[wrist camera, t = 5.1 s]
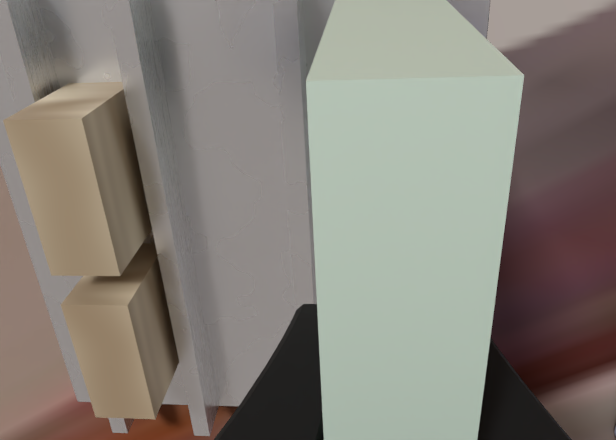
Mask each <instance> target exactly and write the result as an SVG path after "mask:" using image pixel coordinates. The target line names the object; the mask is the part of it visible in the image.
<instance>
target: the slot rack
mask: <svg viewBox="0 0 616 440" xmlns="http://www.w3.org/2000/svg"><path fill="white" fill-rule="evenodd" d="M447 1H448V2H449V3H450V4H451V5H452V6H453V7H454V8H455V9H456V10H457V11H458V12H459V13H460V14H461V15H462V16H463V17H464V18H465V19H466V20H467V21H468V22H469V23H470V24H471V25H473V26H474V27H475V28H476V29H477V30H478V31H479V32H480V33H481V34H482V35H483V36H484V37H485V38H486V39H487V31H488V20H489V8H490V0H447ZM334 2H335V0H0V165H1V168H2V171H3V174H4V178H5V181H6V184H7V187H8V190H9V193H10V196H11V199H12V202H13V205H14V208H15V211H16V214H17V217H18V220H19V223H20V226H21V229H22V232H23V236H24V239H25V242H26V245H27V248H28V251H29V254H30V257H31V260H32V263H33V266H34V269H35V272H36V275H37V278H38V281H39V284H40V287H41V291H42V294H43V297H44V300H45V303H46V306H47V309H48V312H49V315H50V318H51V321H52V324H53V327H54V330H55V333H56V336H57V339H58V342H59V345H60V349H61V352H62V355H63V358H64V361H65V364H66V367H67V370H68V373H69V376H70V379H71V382H72V385H73V388H74V391H75V394H76V397H77V400H78V401H79V402H91V400H90V397H89V394H88V391H87V388H86V384H85V381H84V378H83V375H82V372H81V368H80V365H79V362H78V359H77V356H76V352H75V349H74V346H73V343H72V340H71V336H70V333H69V330H68V327H67V324H66V320H65V317H64V314H63V311H62V308H61V304H62V302H63V301H64V300H65V298H66V297H67V296H68V295H69V293H70V292H71V291H72V290H73V288H74V287H75V286H76V284H77V283H78V282H79V281H80V279H81V278H82V277H83V276H51V272H50V269H49V266H48V263H47V260H46V257H45V253H44V250H43V247H42V244H41V241H40V237H39V234H38V231H37V228H36V225H35V221H34V218H33V215H32V212H31V209H30V205H29V202H28V199H27V196H26V193H25V189H24V186H23V183H22V180H21V177H20V173H19V170H18V167H17V164H16V161H15V157H14V154H13V151H12V148H11V145H10V141H9V138H8V135H7V132H6V129H5V125H4V122H3V120H4V119H6V118H8V117H10V116H12V115H13V114H15V113H17V112H19V111H20V110H22V109H24V108H26V107H28V106H29V105H31V104H33V103H35V102H37V101H38V100H40V99H42V98H44V97H45V96H47V95H49V94H51V93H53V92H54V91H56V90H58V89H60V88H62V87H63V86H65V85H67V84H69V83H96V82H122V84H123V89H124V94H125V99H126V104H127V109H128V113H129V118H130V123H131V128H132V133H133V138H134V143H135V148H136V153H137V157H138V162H139V167H140V172H141V177H142V182H143V187H144V192H145V197H146V202H147V206H148V211H149V216H150V221H151V226H152V230H151V232H150V233H149V235H148V236H147V238H146V239H145V240H144V242H143V243H155V246H156V250H157V255H158V260H159V265H160V270H161V275H162V280H163V285H164V290H165V294H166V299H167V304H168V309H169V314H170V319H171V324H172V329H173V334H174V339H175V343H176V348H177V353H178V358H179V364H178V366H177V368H176V371H175V373H174V376H173V378H172V380H171V383H170V385H169V388H168V390H167V392H166V395H165V397H164V400H163V402H162V404H178V405H188V407H189V412H190V417H191V422H192V427H193V431H194V435H197V436H210V434H211V431H212V427H213V424H214V420H215V417H216V414H217V410H218V407H219V406H239V405H240V404H241V402H242V401H243V399H244V398H245V396H246V395H247V393H248V392H249V390H250V389H251V387H252V386H253V384H254V383H255V381H256V380H257V378H258V377H259V375H260V374H261V372H262V371H263V369H264V368H265V366H266V364H267V363H268V361H269V359H270V358H271V356H272V354H273V353H274V351H275V349H276V348H277V346H278V344H279V343H280V341H281V339H282V337H283V336H284V334H285V332H286V330H287V328H288V326H289V324H290V322H291V320H292V318H293V316H294V314H295V312H296V310H297V309H298V308H299V307H300V306H302V305H303V304H317V295H316V275H315V255H314V235H313V215H312V195H311V175H310V155H309V135H308V115H307V95H306V79H307V76H308V74H309V71H310V68H311V65H312V63H313V60H314V57H315V54H316V52H317V49H318V46H319V43H320V41H321V38H322V35H323V32H324V30H325V27H326V24H327V21H328V19H329V16H330V13H331V10H332V8H333V5H334ZM133 421H134V419H133V418H109V422H110V425H111V428H112V432H113V433H128V432H129V429H130V427H131V425H132V423H133Z"/></svg>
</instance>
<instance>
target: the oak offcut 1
mask: <svg viewBox="0 0 616 440" xmlns="http://www.w3.org/2000/svg"><path fill="white" fill-rule="evenodd" d="M3 122H4V125H5V129H6V132H7V135H8V138H9V141H10V145H11V148H12V151H13V154H14V157H15V161H16V164H17V167H18V170H19V173H20V177H21V180H22V183H23V186H24V189H25V193H26V196H27V199H28V202H29V205H30V209H31V212H32V215H33V218H34V221H35V225H36V228H37V231H38V234H39V237H40V241H41V244H42V247H43V250H44V253H45V257H46V260H47V263H48V266H49V269H50V272H51V276H121V274H122V273H123V271H124V270H125V268H126V267H127V265H128V264H129V262H130V261H131V260H132V258H133V257H134V255H135V254H136V252H137V251H138V249H139V248H140V246H141V245H142V243H143V242H144V240H145V239H146V238H147V236H148V235H149V233H150V232H151V230H152V226H151V221H150V216H149V211H148V206H147V202H146V197H145V192H144V187H143V182H142V177H141V172H140V167H139V162H138V157H137V153H136V148H135V143H134V138H133V133H132V128H131V123H130V118H129V113H128V109H127V104H126V99H125V94H124V89H123V84H122V82H96V83H69V84H67V85H65V86H63V87H62V88H60V89H58V90H56V91H54V92H53V93H51V94H49V95H47V96H45V97H44V98H42V99H40V100H38V101H37V102H35V103H33V104H31V105H29V106H28V107H26V108H24V109H22V110H20V111H19V112H17V113H15V114H13V115H12V116H10V117H8V118H6V119H4V120H3Z"/></svg>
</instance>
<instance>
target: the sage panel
mask: <svg viewBox="0 0 616 440" xmlns="http://www.w3.org/2000/svg"><path fill="white" fill-rule="evenodd" d="M523 80H524V75H523V74H522V73H521V72H520V71H519V70H518V69H517V68H516V67H515V66H514V65H513V64H512V63H511V62H510V61H509V60H508V59H507V58H506V57H505V56H504V55H503V54H502V53H500V52H499V51H498V50H497V49H496V48H495V47H494V46H493V45H492V44H491V43H490V42H489V41H488V40H487V39H486V38H485V37H484V36H483V35H482V34H481V33H480V32H479V31H478V30H477V29H476V28H475V27H474V26H473V25H471V24H470V23H469V22H468V21H467V20H466V19H465V18H464V17H463V16H462V15H461V14H460V13H459V12H458V11H457V10H456V9H455V8H454V7H453V6H452V5H451V4H450V3H449V2H448V1H447V0H335V2H334V5H333V8H332V10H331V13H330V16H329V19H328V21H327V24H326V27H325V30H324V32H323V35H322V38H321V41H320V43H319V46H318V49H317V52H316V54H315V57H314V60H313V63H312V65H311V68H310V71H309V74H308V76H307V79H306V95H307V115H308V135H309V155H310V175H311V195H312V215H313V235H314V255H315V275H316V295H317V315H318V335H319V355H320V375H321V395H322V415H323V435H324V440H477V439H478V431H479V423H480V415H481V407H482V400H483V392H484V384H485V376H486V369H487V361H488V353H489V345H490V337H491V330H492V322H493V314H494V306H495V298H496V291H497V283H498V275H499V267H500V259H501V252H502V244H503V236H504V228H505V220H506V213H507V205H508V197H509V189H510V182H511V174H512V166H513V158H514V150H515V143H516V135H517V127H518V119H519V111H520V104H521V96H522V88H523Z"/></svg>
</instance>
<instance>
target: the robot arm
mask: <svg viewBox="0 0 616 440" xmlns="http://www.w3.org/2000/svg"><path fill="white" fill-rule="evenodd" d="M614 434H615V436H616V427H615V430H614ZM214 440H324V435H323V415H322V395H321V375H320V355H319V335H318V315H317V304H303V305H302V306H300V307H299V308H298V309H297V310H296V312H295V314H294V316H293V318H292V320H291V322H290V324H289V326H288V328H287V330H286V332H285V334H284V336H283V337H282V339H281V341H280V343H279V344H278V346H277V348H276V349H275V351H274V353H273V354H272V356H271V358H270V359H269V361H268V363H267V364H266V366H265V368H264V369H263V371H262V372H261V374H260V375H259V377H258V378H257V380H256V381H255V383H254V384H253V386H252V387H251V389H250V390H249V392H248V393H247V395H246V396H245V398H244V399H243V401H242V402H241V404H240V405H239V407H238V408H237V409H236V411H235V412H234V414H233V415H232V416H231V418H230V419H229V420H228V422H227V423H226V424H225V426H224V427H223V428H222V430H221V431H220V432H219V434H218V435H217V436H216V438H215V439H214ZM477 440H571V438H570V437H569V436H568V435H567V434H566V433H565V432H564V430H563V429H562V428H561V427H560V426H559V425H558V423H557V422H556V421H555V420H554V418H553V417H552V416H551V415H550V414H549V412H548V411H547V410H546V409H545V408H544V406H543V405H542V404H541V403H540V401H539V400H538V399H537V398H536V397H535V395H534V394H533V393H532V392H531V391H530V389H529V388H528V387H527V386H526V384H525V383H524V382H523V380H522V379H521V378H520V377H519V375H518V374H517V373H516V371H515V370H514V369H513V367H512V366H511V365H510V363H509V362H508V361H507V359H506V358H505V357H504V355H503V354H502V353H501V351H500V350H499V349H498V347H497V346H496V345H495V343H494V342H493V340H492V339H491V338H490V345H489V353H488V361H487V369H486V376H485V384H484V392H483V400H482V407H481V415H480V423H479V431H478V439H477Z"/></svg>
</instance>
